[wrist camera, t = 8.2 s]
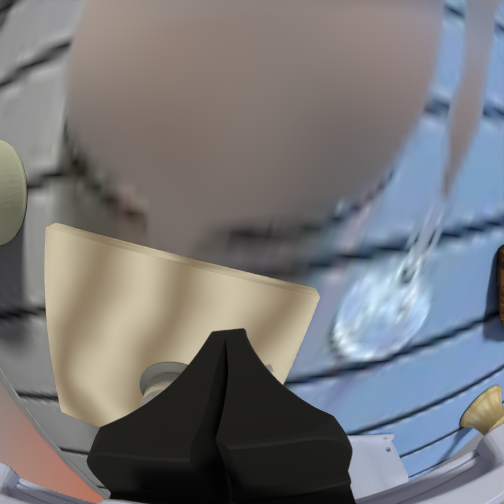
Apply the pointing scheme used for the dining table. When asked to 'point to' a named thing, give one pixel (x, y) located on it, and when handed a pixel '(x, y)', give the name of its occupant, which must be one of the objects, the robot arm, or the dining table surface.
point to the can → (11, 192)
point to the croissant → (500, 282)
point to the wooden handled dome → (158, 385)
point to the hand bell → (485, 411)
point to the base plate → (152, 318)
